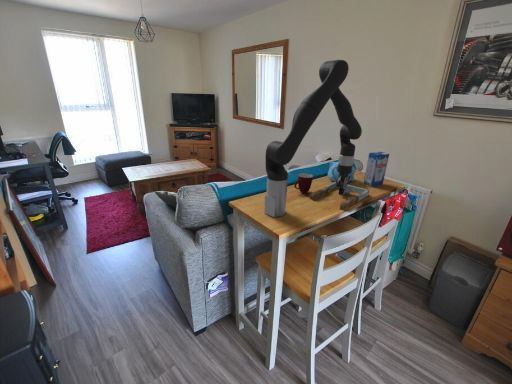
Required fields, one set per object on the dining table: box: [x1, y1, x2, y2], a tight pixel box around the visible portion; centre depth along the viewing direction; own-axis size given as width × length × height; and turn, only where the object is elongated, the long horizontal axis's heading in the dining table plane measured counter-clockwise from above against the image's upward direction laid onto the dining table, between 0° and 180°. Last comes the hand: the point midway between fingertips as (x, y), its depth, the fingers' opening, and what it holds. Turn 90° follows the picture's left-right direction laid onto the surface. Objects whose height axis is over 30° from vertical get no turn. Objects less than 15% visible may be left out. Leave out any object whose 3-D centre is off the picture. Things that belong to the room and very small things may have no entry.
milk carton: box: [363, 151, 390, 188], centre depth 157 cm, size 10×6×20 cm, turn 115°
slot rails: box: [309, 186, 358, 211], centre depth 134 cm, size 16×19×3 cm
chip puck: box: [338, 187, 351, 197], centre depth 143 cm, size 6×6×4 cm
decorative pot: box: [327, 161, 356, 183], centre depth 163 cm, size 16×16×14 cm
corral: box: [324, 181, 370, 202], centre depth 144 cm, size 13×20×3 cm, turn 46°
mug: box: [293, 173, 313, 194], centre depth 143 cm, size 11×8×10 cm
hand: (340, 193), depth 140 cm, fingers closed
